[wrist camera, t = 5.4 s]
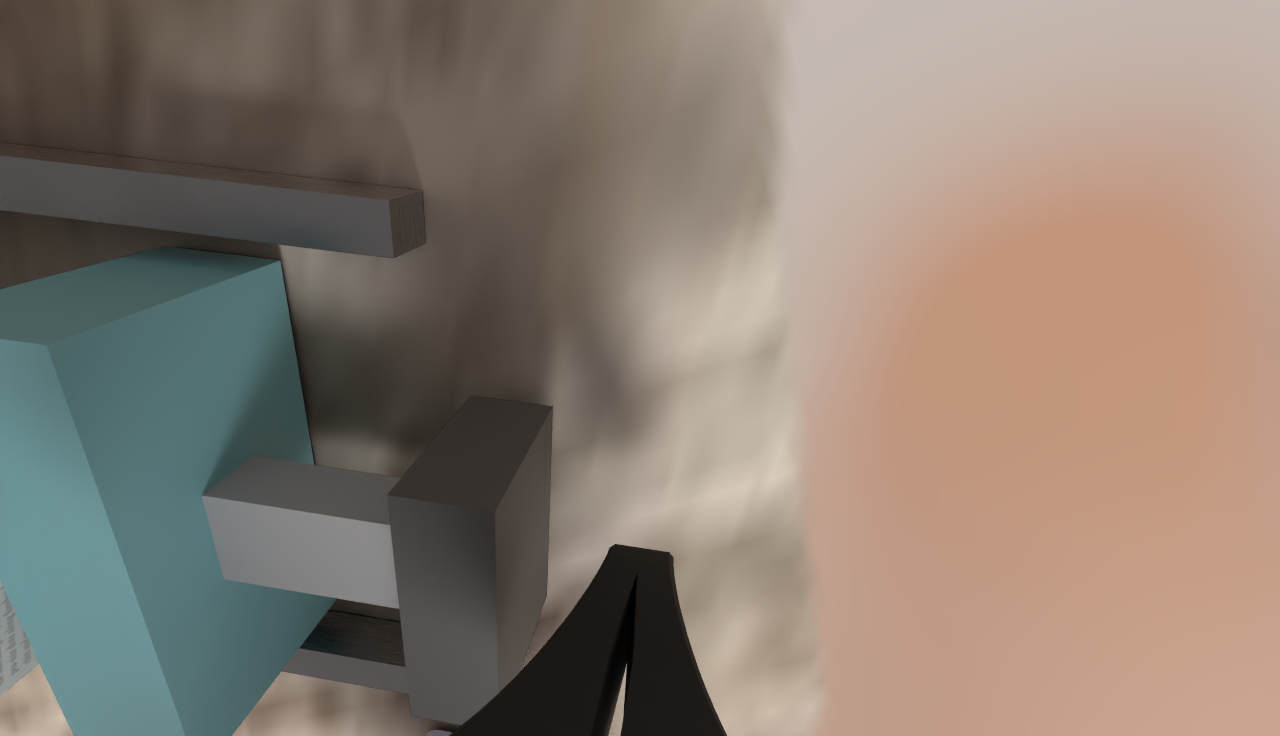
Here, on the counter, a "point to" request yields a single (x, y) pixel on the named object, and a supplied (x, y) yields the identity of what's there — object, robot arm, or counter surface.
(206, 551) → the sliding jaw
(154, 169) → the vise
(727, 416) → the counter surface
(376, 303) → the counter surface
